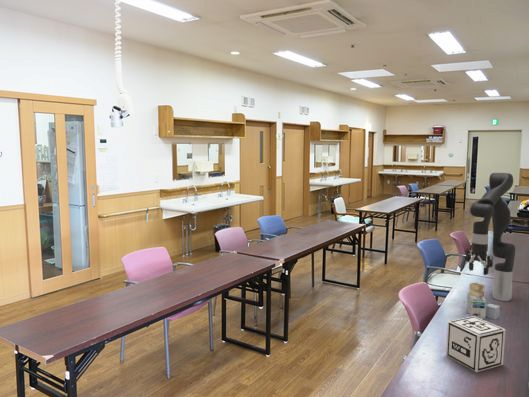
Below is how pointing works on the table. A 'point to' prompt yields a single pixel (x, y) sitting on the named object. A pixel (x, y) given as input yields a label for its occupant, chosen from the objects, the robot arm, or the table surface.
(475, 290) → the maple block
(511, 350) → the table surface
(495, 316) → the grey-blue block
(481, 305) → the light bulb box
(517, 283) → the table surface
